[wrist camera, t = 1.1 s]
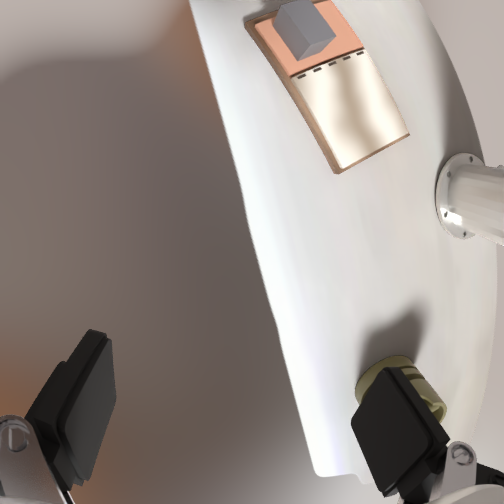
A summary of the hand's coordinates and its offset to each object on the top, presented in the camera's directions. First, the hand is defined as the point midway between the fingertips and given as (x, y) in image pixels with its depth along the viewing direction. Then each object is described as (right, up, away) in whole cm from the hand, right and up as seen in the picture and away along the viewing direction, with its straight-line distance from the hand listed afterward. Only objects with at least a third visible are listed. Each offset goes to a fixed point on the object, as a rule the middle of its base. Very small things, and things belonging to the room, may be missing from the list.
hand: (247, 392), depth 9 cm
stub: (+7, +28, +16) cm, 33 cm away
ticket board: (+9, +24, +19) cm, 32 cm away
